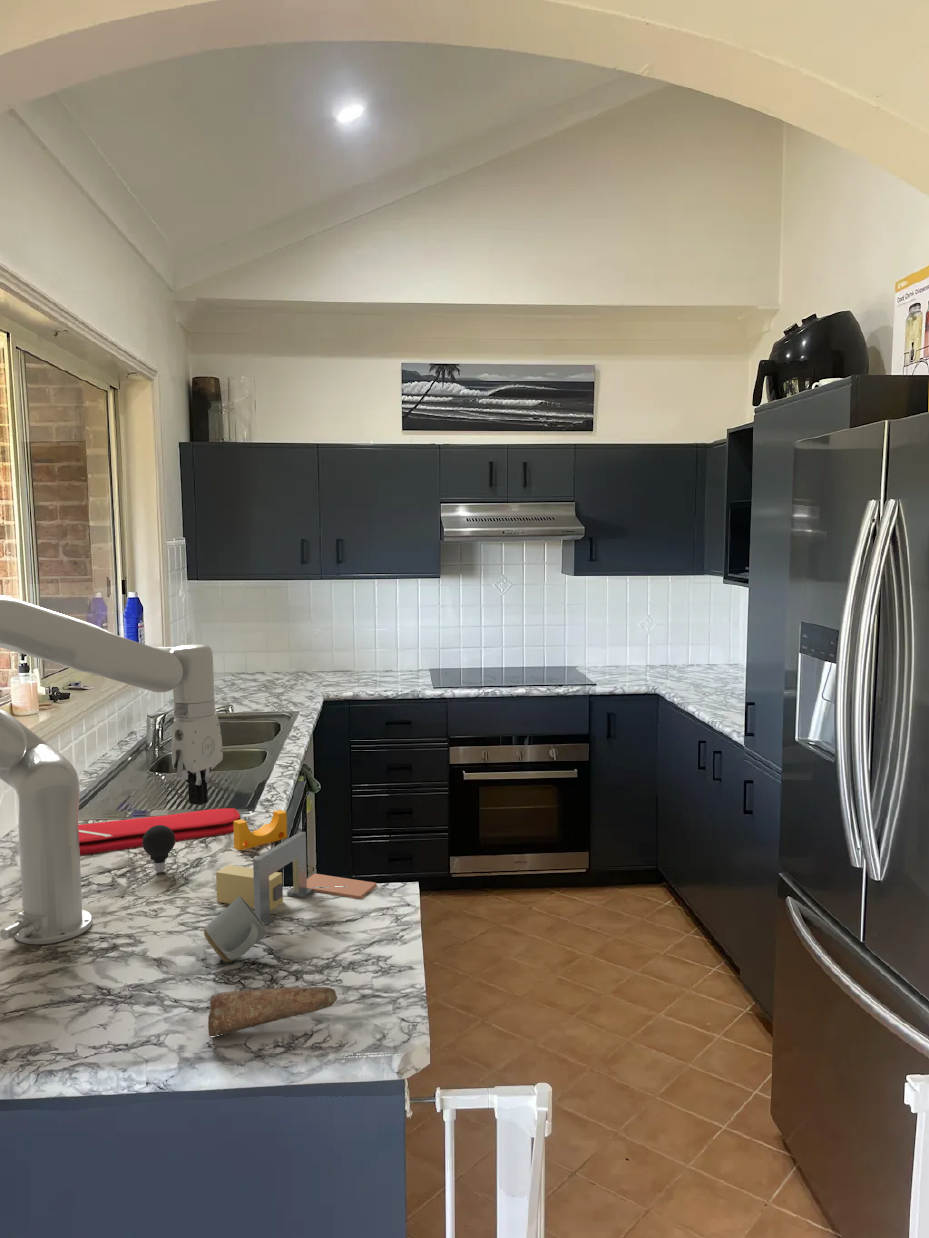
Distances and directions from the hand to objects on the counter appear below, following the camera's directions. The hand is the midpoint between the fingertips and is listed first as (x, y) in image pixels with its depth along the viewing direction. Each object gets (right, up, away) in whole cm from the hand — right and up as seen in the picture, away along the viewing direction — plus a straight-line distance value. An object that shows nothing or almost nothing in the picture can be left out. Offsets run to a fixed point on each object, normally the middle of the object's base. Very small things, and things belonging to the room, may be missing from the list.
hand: (198, 802), depth 172 cm
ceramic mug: (+14, -21, -26) cm, 36 cm away
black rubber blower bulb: (-12, -17, +12) cm, 24 cm away
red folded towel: (-22, -16, +36) cm, 45 cm away
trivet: (+26, -18, +4) cm, 32 cm away
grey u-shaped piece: (+17, -19, -5) cm, 26 cm away
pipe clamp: (+5, -16, +30) cm, 34 cm away
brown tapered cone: (+24, -23, -45) cm, 56 cm away
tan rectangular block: (+10, -19, -2) cm, 21 cm away
